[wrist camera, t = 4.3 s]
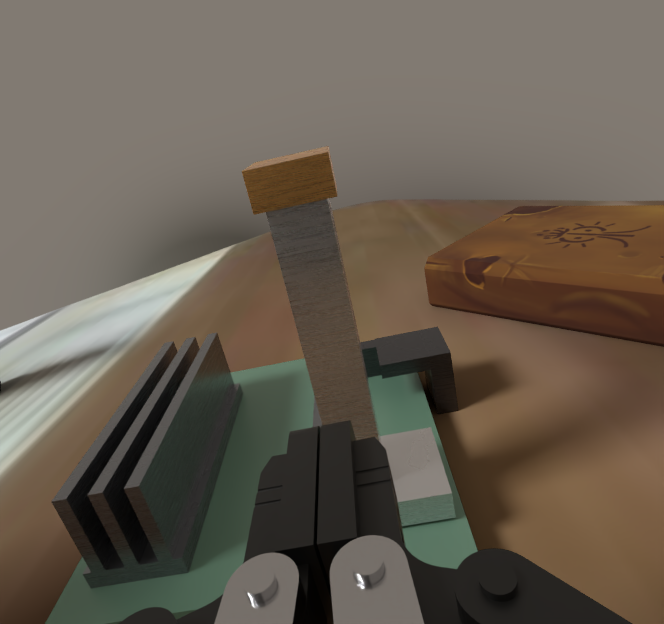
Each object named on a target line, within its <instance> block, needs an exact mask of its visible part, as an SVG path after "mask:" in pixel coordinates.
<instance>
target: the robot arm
mask: <svg viewBox="0 0 664 624" xmlns="http://www.w3.org/2000/svg"><path fill="white" fill-rule="evenodd" d="M119 624H632V623H630V622H629V621H627V620H625V619H624V618H622V617H621V616H619V615H617V614H616V613H614V612H612V611H611V610H609V609H608V608H606V607H604V606H603V605H601V604H599V603H598V602H596V601H594V600H593V599H591V598H590V597H588V596H586V595H585V594H583V593H581V592H580V591H578V590H577V589H575V588H573V587H572V586H570V585H568V584H567V583H565V582H564V581H562V580H560V579H559V578H557V577H555V576H554V575H552V574H550V573H549V572H547V571H546V570H544V569H542V568H541V567H539V566H537V565H536V564H534V563H533V562H531V561H529V560H528V559H526V558H524V557H523V556H521V555H519V554H517V553H514V552H512V551H508V550H504V549H484V550H480V551H477V552H475V553H473V554H471V555H469V556H468V557H466V558H465V559H464V560H463V561H462V562H461V564H460V565H459V566H458V568H457V569H453V568H446V567H439V566H434V565H430V564H427V563H425V562H423V561H421V560H419V559H417V558H416V557H415V556H413V555H412V554H411V553H410V552H409V551H408V550H407V548H406V546H405V540H404V535H403V529H402V523H401V518H400V512H399V506H398V501H397V496H396V491H395V487H394V483H393V478H392V474H391V469H390V465H389V461H388V456H387V452H386V449H385V448H384V446H383V445H382V444H381V443H380V442H379V441H378V440H377V439H376V438H375V437H371V438H366V439H361V440H356V438H355V434H354V431H353V427H352V423H351V421H350V420H347V421H342V422H337V423H332V424H327V425H322V426H321V428H320V426H316V427H311V428H305V429H300V430H295V431H290V433H289V438H288V446H287V454H282V455H276V456H272V457H271V458H270V460H269V461H268V463H267V464H266V466H265V467H264V469H263V470H262V472H261V474H260V479H259V484H258V493H257V495H256V500H255V507H254V510H253V515H252V521H251V526H250V531H249V536H248V541H247V546H246V552H245V557H244V562H243V564H242V565H241V566H240V567H239V568H238V569H237V570H236V571H235V572H234V573H233V574H232V576H231V577H230V579H229V581H228V582H227V585H226V587H225V590H224V593H223V594H222V595H221V596H220V597H219V598H217V599H216V600H214V601H213V602H211V603H209V604H207V605H206V606H204V607H202V608H199V609H197V610H195V611H193V612H191V613H189V614H187V615H185V616H183V617H181V618H179V619H177V620H176V619H175V617H174V615H173V614H172V613H171V612H170V611H169V610H167V609H165V608H162V607H150V608H146V609H142V610H140V611H138V612H135V613H134V614H132V615H130V616H128V617H127V618H126V619H124V620H123V621H122V622H120V623H119Z"/></svg>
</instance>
